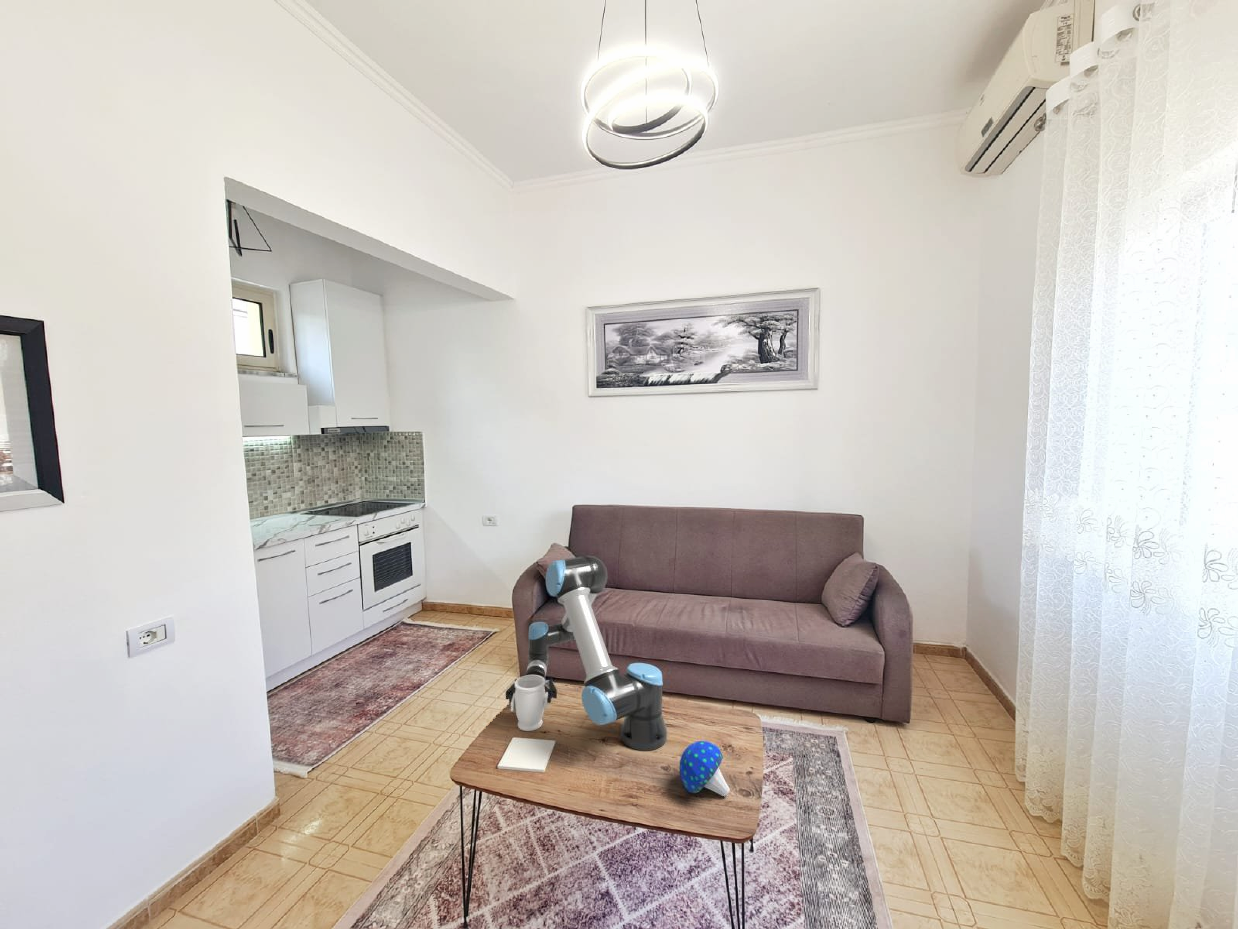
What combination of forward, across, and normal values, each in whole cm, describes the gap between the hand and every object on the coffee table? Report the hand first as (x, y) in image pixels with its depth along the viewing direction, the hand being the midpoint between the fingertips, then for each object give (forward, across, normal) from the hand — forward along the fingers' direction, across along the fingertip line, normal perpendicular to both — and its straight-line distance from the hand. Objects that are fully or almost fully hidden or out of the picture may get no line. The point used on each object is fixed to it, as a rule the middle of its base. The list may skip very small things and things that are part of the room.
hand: (528, 706), depth 163 cm
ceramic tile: (+12, -1, -8) cm, 15 cm away
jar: (-4, 0, -9) cm, 10 cm away
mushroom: (+29, -52, -9) cm, 60 cm away
